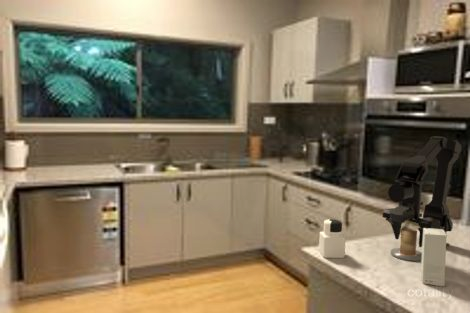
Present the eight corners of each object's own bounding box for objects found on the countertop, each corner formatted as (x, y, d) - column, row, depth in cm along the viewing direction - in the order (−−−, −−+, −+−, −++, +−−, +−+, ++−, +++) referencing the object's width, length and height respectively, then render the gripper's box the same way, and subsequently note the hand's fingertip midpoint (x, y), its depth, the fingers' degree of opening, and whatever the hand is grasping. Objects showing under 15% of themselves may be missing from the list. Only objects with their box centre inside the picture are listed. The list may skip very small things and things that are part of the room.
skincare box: (444, 287, 115) (448, 236, 113) (421, 283, 117) (424, 233, 115) (441, 276, 122) (445, 228, 121) (419, 273, 125) (422, 226, 123)
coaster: (404, 248, 148) (404, 246, 148) (432, 258, 138) (432, 255, 138) (383, 253, 142) (383, 250, 142) (411, 263, 133) (411, 260, 133)
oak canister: (406, 249, 144) (407, 227, 143) (418, 254, 139) (420, 231, 138) (396, 251, 141) (398, 229, 140) (409, 256, 137) (410, 233, 136)
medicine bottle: (338, 251, 143) (340, 217, 142) (344, 258, 136) (346, 223, 135) (318, 251, 143) (320, 217, 142) (323, 258, 136) (325, 223, 135)
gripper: (373, 195, 142) (370, 238, 144) (421, 206, 126) (417, 255, 128) (394, 192, 148) (391, 234, 149) (442, 203, 132) (439, 249, 133)
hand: (408, 242), depth 140 cm, fingers open, 9 cm apart
